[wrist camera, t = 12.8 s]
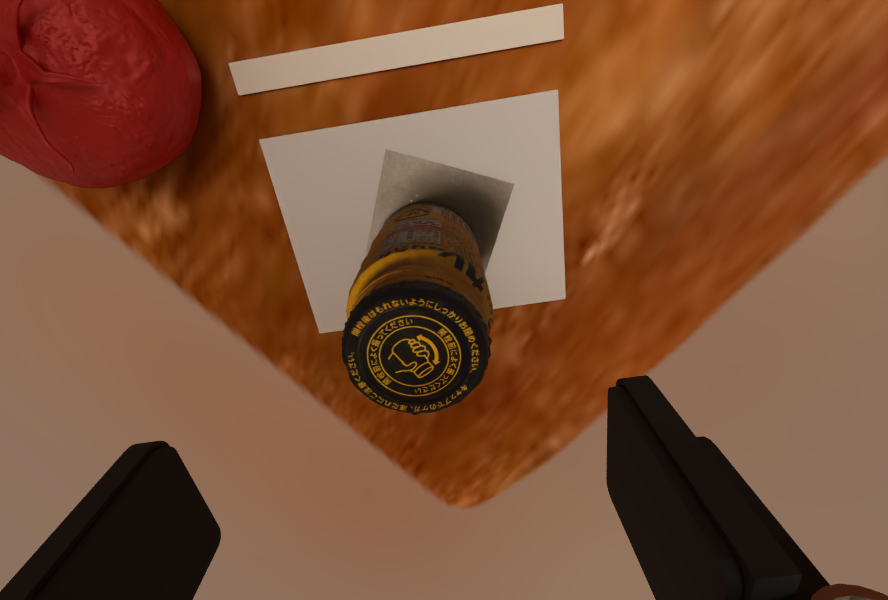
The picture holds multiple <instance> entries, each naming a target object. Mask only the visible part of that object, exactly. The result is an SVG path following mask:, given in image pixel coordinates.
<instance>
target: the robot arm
mask: <svg viewBox="0 0 888 600" xmlns="http://www.w3.org/2000/svg"><path fill="white" fill-rule="evenodd" d="M607 422H608V423H607V487H608V491H609V494H610V497H611V500H612V502H613V504H614V506H615V509H616V511H617V513H618V516H619V518H620V520H621V522H622V525H623V527H624V529H625V531H626V533H627V536H628V538H629V540H630V543H631V545H632V547H633V549H634V552H635V554H636V556H637V558H638V561H639V563H640V565H641V568H642V570H643V572H644V574H645V577H646V579H647V581H648V583H649V585H650V588H651V590H652V592H653V595H654V597H655V599H656V600H888V596H887V595H885V594H883V593H880V592H877V591H874V590H871V589H868V588H864V587H861V586H857V585H847V584H835V585H829V583H828V582H827V581H826V580H825V578H824V577H823V576H822V575H821V574H820V572H819V571H818V570H817V569H816V567H815V566H814V565H813V564H812V563H811V561H810V560H809V559H808V558H807V557H806V555H805V554H804V553H803V552H802V550H801V549H800V548H799V547H798V545H797V544H796V543H795V542H794V541H793V539H792V538H791V537H790V536H789V534H788V533H787V532H786V531H785V530H784V528H783V527H782V526H781V525H780V523H779V522H778V521H777V520H776V519H775V517H774V516H773V515H772V514H771V512H770V511H769V510H768V509H767V507H765V505H764V504H763V503H762V501H761V500H760V499H759V498H758V496H757V495H756V494H755V493H754V491H753V490H752V489H751V488H750V487H749V485H748V484H747V483H746V482H745V481H744V479H743V478H742V477H741V476H740V474H739V473H738V472H737V471H736V469H735V468H734V467H733V466H732V465H731V463H730V462H729V461H728V460H727V459H726V457H725V456H724V455H723V454H722V452H721V451H720V450H719V449H718V447H717V446H716V445H715V444H714V443H713V442H712V441H711V440H709V439H708V438H706V437H696V436H695V435H694V434H693V432H692V431H691V430H690V429H689V427H688V426H687V425H686V424H685V422H684V421H683V420H682V418H681V417H680V416H679V415H678V413H677V412H676V411H675V409H674V408H673V407H672V406H671V404H670V403H669V402H668V401H667V399H666V398H665V396H664V395H663V394H662V393H661V391H660V390H659V389H658V387H657V386H656V385H655V384H654V383H653V381H652V380H651V379H650V378H649V377H648V376H646V375H645V376H637V377H630V378H623V379H618V380H617V382H616V387H610V388H609V389H608V417H607ZM220 539H221V532H220V528H219V526H218V524H217V522H216V521H215V518H214V517H213V515H212V513H211V511H210V510H209V508H208V506H207V504H206V503H205V501H204V499H203V497H202V495H201V494H200V492H199V490H198V488H197V486H196V485H195V483H194V481H193V479H192V478H191V476H190V474H189V472H188V470H187V469H186V467H185V465H184V463H183V462H182V460H181V458H180V456H179V454H178V453H177V451H176V450H175V448H173V447H170V446H169V445H168V443H166V442H164V441H155V442H147V443H141V444H135V445H132V446H130V447H129V448H128V449H127V450H126V451H125V452H124V453H123V454H122V455H121V456H120V457H119V459H118V460H117V461H116V462H115V463H114V464H113V466H111V468H110V469H109V470H108V471H107V472H106V473H105V474H104V475H103V477H102V478H101V479H100V480H99V481H98V482H97V484H95V486H94V487H93V488H92V489H91V490H90V491H89V492H88V494H87V495H86V496H85V497H84V498H83V499H82V500H81V502H80V503H79V504H78V505H77V506H76V507H75V508H74V509H73V511H72V512H71V513H70V514H69V515H68V516H67V517H66V518H65V520H64V521H63V522H62V523H61V524H60V525H59V526H58V528H57V529H56V530H55V531H54V532H53V533H52V534H51V535H50V537H48V539H47V540H46V541H45V542H44V543H43V544H42V545H41V546H40V548H39V549H38V550H37V551H36V552H35V553H34V554H33V556H32V557H31V558H30V559H29V560H28V561H27V562H26V563H25V565H24V566H23V567H22V568H21V569H20V570H19V571H18V573H17V574H16V575H15V576H14V577H13V578H12V579H11V580H10V581H9V583H8V584H7V585H6V586H5V587H4V588H3V589H2V590H1V592H0V600H193V597H194V595H195V593H196V591H197V589H198V587H199V585H200V583H201V581H202V579H203V576H204V575H205V573H206V571H207V568H208V567H209V565H210V563H211V561H212V559H213V557H214V554H215V552H216V550H217V548H218V546H219V543H220Z"/></svg>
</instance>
